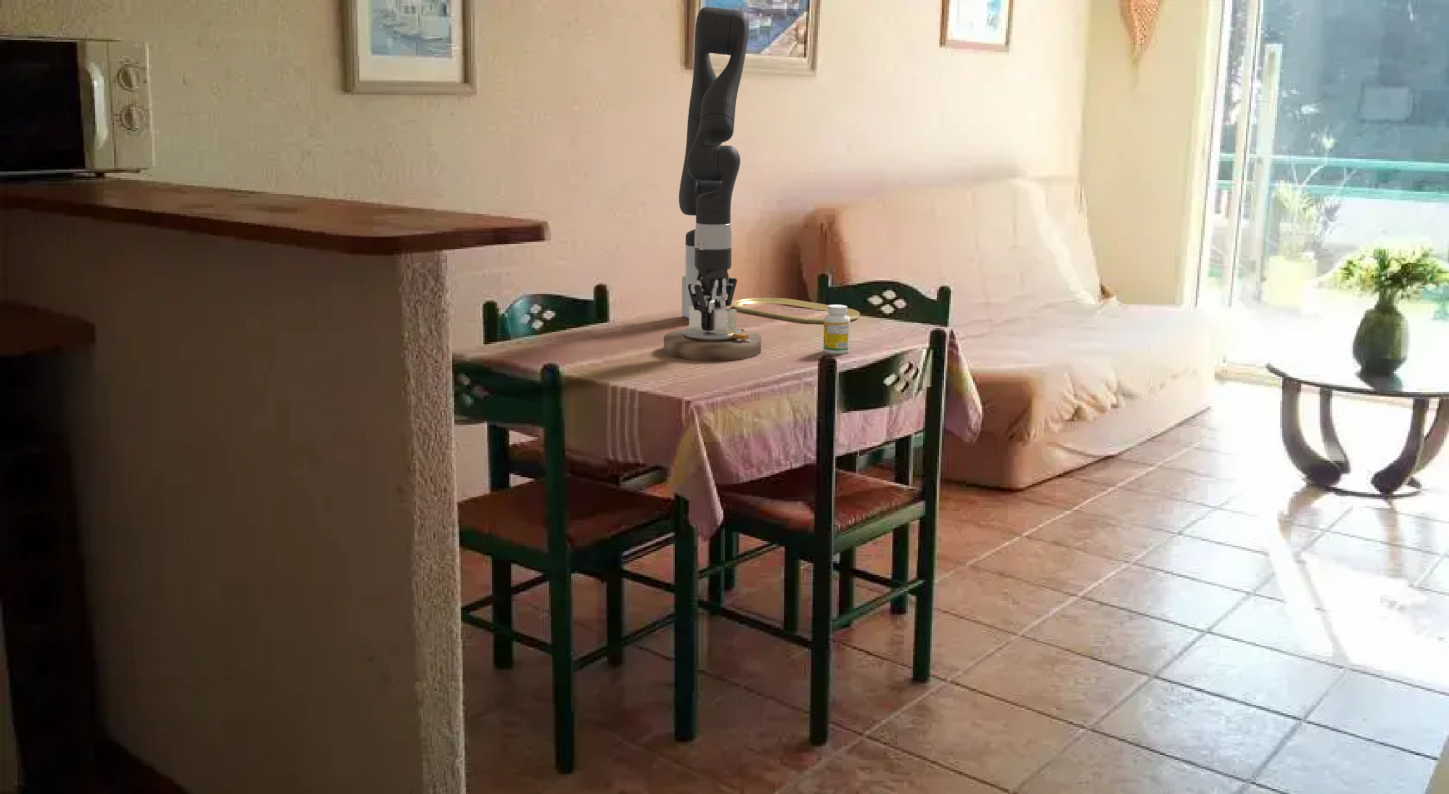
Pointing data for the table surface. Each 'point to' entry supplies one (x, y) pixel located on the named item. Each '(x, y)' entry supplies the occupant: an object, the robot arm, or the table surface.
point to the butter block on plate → (714, 326)
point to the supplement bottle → (836, 330)
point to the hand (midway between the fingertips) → (712, 328)
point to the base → (711, 347)
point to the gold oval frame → (789, 302)
